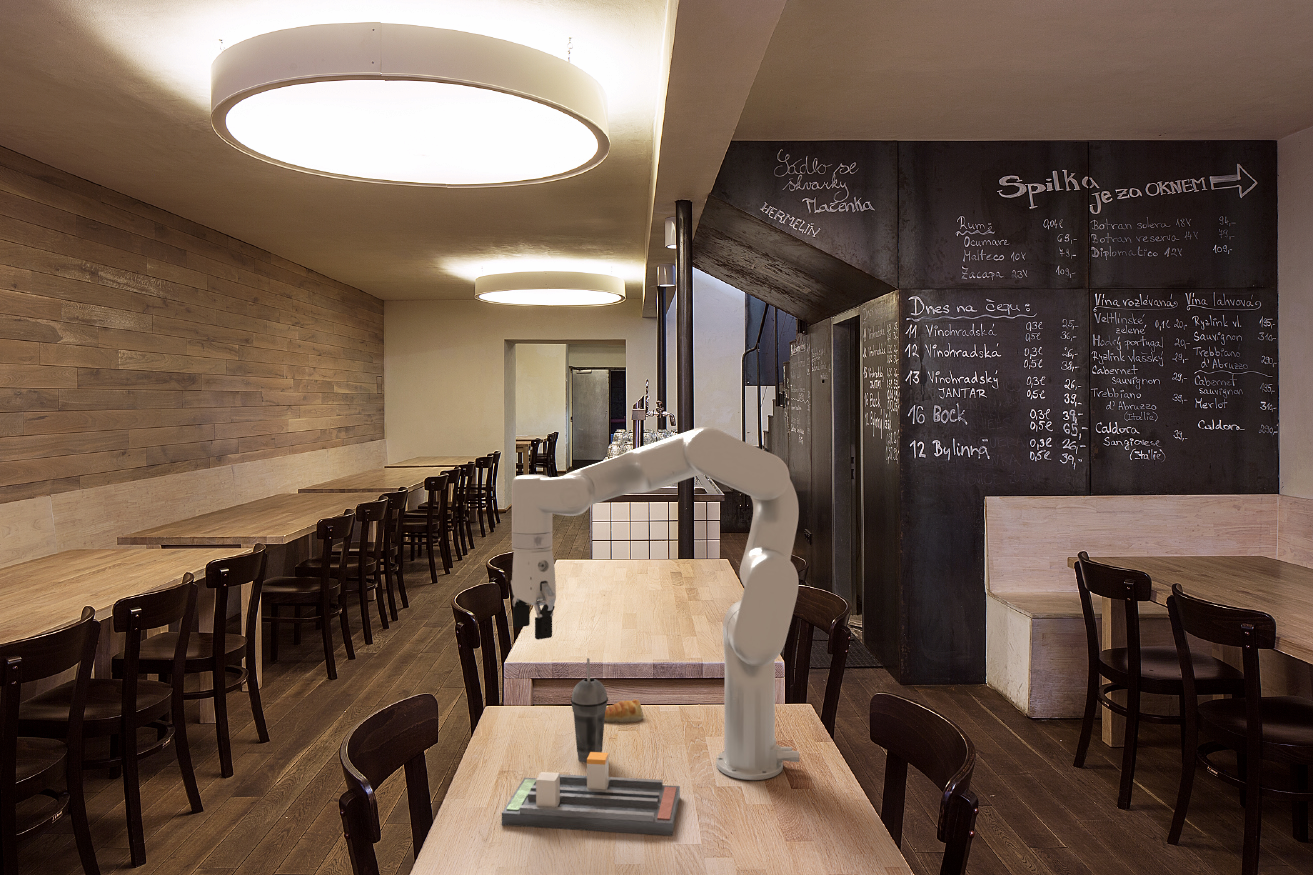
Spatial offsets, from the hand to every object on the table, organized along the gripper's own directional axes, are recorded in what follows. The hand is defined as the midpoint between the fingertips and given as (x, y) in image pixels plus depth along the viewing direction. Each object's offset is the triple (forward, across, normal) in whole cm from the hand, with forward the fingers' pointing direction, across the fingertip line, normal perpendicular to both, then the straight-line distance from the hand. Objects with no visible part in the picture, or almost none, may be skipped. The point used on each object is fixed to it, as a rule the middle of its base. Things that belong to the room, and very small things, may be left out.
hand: (532, 632), depth 151 cm
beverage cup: (+26, -1, -12) cm, 29 cm away
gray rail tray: (+26, -20, -2) cm, 33 cm away
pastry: (+27, +14, -28) cm, 41 cm away
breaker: (+24, -18, +5) cm, 31 cm away
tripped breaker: (+24, -17, -5) cm, 30 cm away
